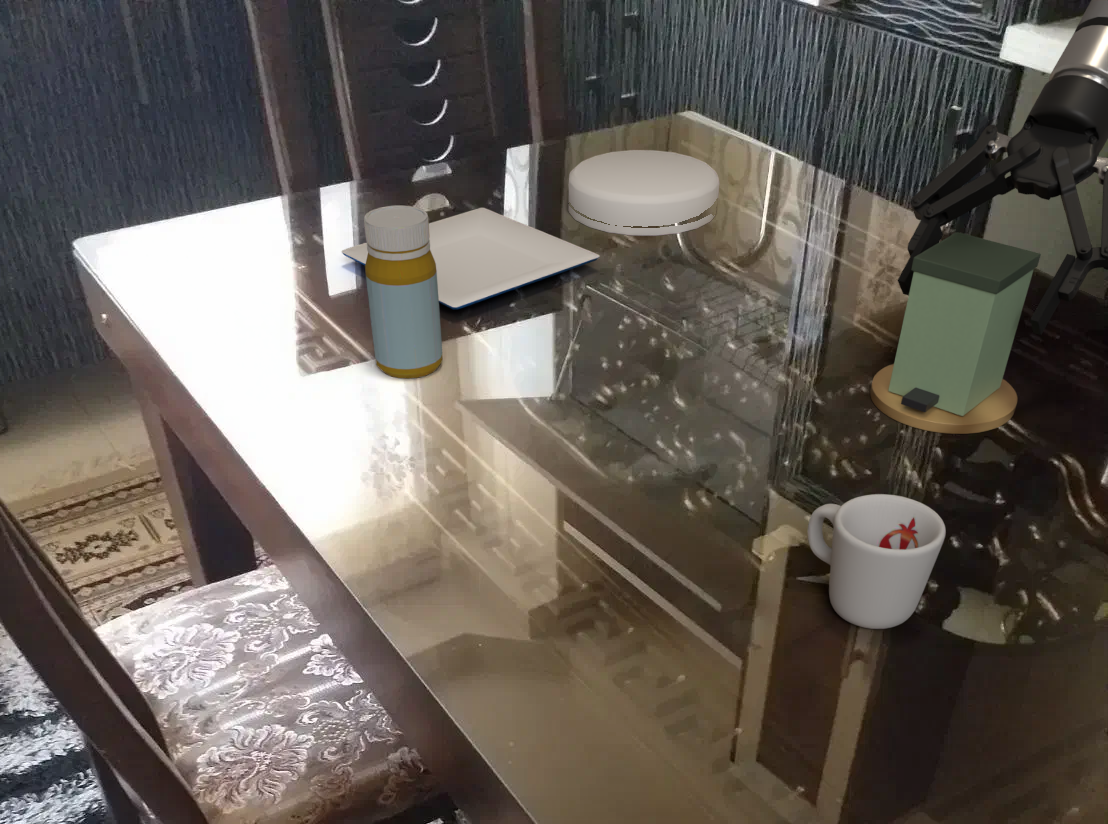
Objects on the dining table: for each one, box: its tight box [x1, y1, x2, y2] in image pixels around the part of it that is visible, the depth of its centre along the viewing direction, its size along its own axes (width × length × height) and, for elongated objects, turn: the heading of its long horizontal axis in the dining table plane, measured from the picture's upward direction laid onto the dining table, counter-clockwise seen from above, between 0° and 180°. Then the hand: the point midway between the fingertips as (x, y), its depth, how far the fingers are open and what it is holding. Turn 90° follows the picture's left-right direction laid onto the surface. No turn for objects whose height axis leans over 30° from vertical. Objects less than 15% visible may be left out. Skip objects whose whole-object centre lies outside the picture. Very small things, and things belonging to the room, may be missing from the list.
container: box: [567, 149, 720, 237], centre depth 152 cm, size 20×20×5 cm
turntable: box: [869, 363, 1018, 435], centre depth 114 cm, size 14×14×1 cm
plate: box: [341, 207, 601, 310], centre depth 138 cm, size 22×22×2 cm
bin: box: [888, 231, 1042, 416], centre depth 108 cm, size 11×8×13 cm
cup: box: [807, 493, 947, 630], centre depth 87 cm, size 11×8×8 cm
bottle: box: [363, 205, 443, 380], centre depth 115 cm, size 7×7×15 cm
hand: (967, 307), depth 109 cm, fingers open, 13 cm apart
